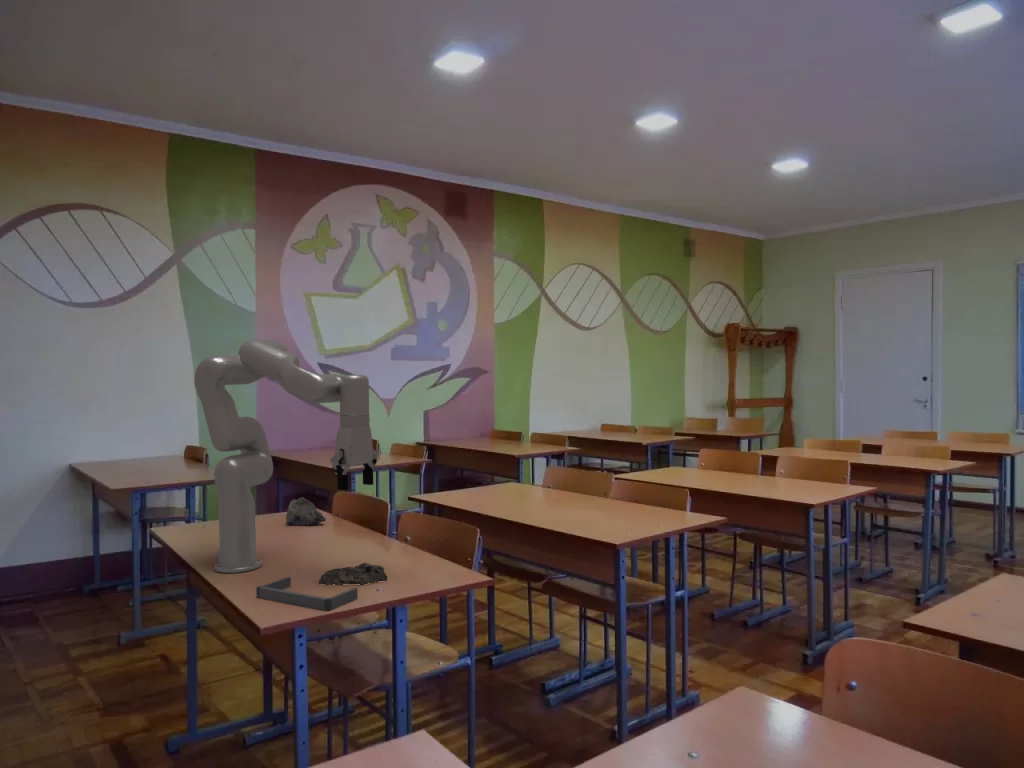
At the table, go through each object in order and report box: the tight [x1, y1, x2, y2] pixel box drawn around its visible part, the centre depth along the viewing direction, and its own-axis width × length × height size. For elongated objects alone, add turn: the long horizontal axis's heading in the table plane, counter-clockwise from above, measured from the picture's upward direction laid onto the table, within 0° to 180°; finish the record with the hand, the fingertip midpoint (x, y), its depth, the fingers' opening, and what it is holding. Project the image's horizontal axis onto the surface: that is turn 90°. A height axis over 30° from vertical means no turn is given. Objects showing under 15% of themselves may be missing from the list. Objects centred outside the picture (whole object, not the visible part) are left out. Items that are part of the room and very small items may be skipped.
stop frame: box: [255, 576, 359, 612], centre depth 175 cm, size 23×10×2 cm, turn 61°
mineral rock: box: [285, 496, 327, 526], centre depth 261 cm, size 13×11×10 cm
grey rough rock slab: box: [318, 562, 388, 586], centre depth 191 cm, size 19×4×15 cm
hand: (355, 487), depth 190 cm, fingers open, 9 cm apart
